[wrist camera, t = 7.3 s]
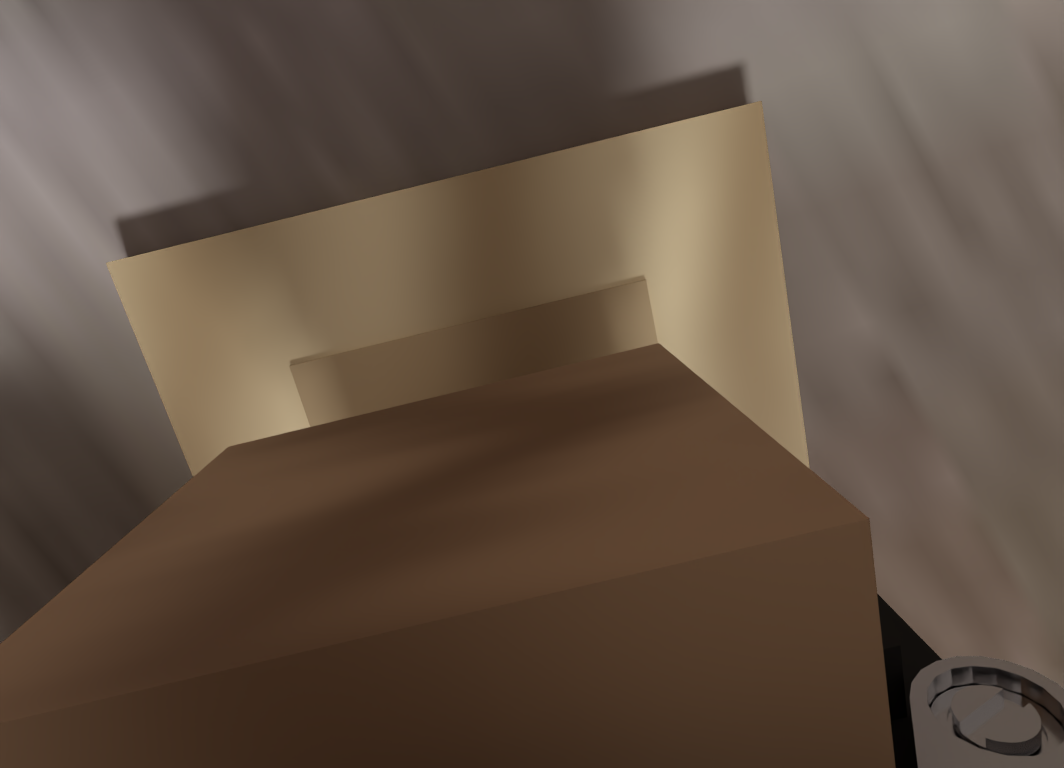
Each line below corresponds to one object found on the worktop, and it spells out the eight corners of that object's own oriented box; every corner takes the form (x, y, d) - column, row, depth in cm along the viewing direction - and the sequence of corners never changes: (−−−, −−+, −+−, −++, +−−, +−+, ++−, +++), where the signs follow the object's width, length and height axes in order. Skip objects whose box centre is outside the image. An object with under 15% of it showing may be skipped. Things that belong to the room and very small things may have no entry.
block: (658, 343, 10) (869, 519, 4) (725, 703, 12) (937, 1163, 6) (228, 447, 10) (-125, 753, 4) (360, 788, 12) (230, 1320, 6)
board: (747, 106, 14) (763, 99, 13) (821, 646, 18) (837, 668, 17) (128, 260, 14) (102, 263, 13) (325, 757, 18) (316, 785, 17)
